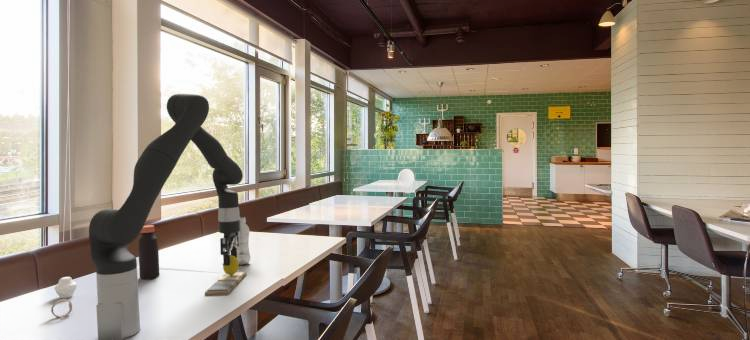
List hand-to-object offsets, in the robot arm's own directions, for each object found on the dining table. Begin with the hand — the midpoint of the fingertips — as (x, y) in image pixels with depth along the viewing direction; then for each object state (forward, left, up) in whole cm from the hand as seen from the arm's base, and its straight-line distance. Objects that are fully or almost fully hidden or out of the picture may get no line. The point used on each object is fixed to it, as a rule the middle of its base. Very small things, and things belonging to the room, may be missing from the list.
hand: (230, 262), depth 156 cm
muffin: (-12, +52, -7) cm, 54 cm away
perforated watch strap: (-30, +41, -7) cm, 51 cm away
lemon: (0, 0, -5) cm, 5 cm away
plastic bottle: (+22, +2, -7) cm, 23 cm away
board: (-5, 0, -7) cm, 9 cm away
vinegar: (+8, +34, -7) cm, 35 cm away
